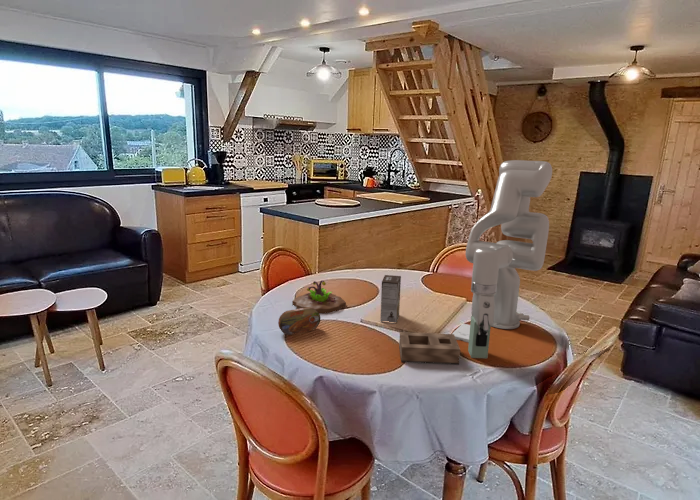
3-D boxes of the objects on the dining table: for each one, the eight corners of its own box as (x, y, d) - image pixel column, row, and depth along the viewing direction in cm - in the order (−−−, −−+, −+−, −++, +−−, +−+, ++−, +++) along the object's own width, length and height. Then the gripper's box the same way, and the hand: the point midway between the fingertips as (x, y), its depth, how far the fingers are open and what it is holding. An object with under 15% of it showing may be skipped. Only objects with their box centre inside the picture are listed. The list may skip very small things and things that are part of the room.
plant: (314, 318, 168) (314, 290, 166) (285, 304, 182) (285, 278, 180) (353, 307, 181) (354, 280, 178) (324, 294, 195) (324, 270, 193)
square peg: (483, 351, 143) (487, 316, 141) (487, 358, 139) (491, 322, 136) (468, 350, 144) (471, 315, 141) (471, 357, 139) (474, 322, 136)
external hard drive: (484, 332, 159) (473, 344, 149) (461, 327, 163) (449, 338, 153) (484, 328, 159) (473, 340, 148) (462, 323, 163) (450, 334, 153)
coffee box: (383, 313, 174) (384, 274, 170) (399, 315, 172) (401, 275, 169) (379, 322, 165) (381, 281, 161) (397, 324, 164) (399, 282, 160)
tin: (280, 337, 151) (280, 314, 149) (277, 333, 154) (277, 310, 152) (320, 329, 158) (320, 307, 156) (317, 326, 160) (317, 304, 158)
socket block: (452, 348, 145) (453, 334, 144) (459, 364, 134) (460, 349, 133) (399, 346, 146) (399, 332, 145) (401, 362, 135) (401, 347, 134)
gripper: (504, 297, 127) (498, 355, 132) (489, 279, 144) (484, 331, 148) (477, 296, 128) (472, 353, 132) (466, 278, 144) (461, 330, 149)
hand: (478, 341), depth 140 cm, fingers closed on square peg, 5 cm apart
